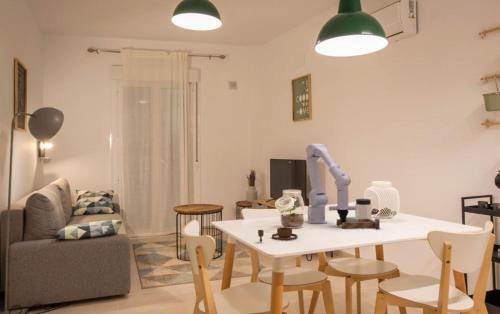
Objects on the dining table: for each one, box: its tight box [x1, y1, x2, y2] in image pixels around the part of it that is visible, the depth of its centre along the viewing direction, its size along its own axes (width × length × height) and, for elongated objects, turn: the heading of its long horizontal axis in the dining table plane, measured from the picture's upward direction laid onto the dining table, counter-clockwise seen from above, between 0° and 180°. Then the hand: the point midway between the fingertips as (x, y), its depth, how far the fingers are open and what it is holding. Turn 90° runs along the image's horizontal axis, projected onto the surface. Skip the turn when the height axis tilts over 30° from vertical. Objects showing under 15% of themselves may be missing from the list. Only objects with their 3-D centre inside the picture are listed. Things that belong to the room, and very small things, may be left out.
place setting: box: [257, 226, 298, 243], centre depth 191 cm, size 18×20×6 cm
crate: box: [345, 216, 358, 222], centre depth 219 cm, size 6×6×4 cm
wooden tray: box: [336, 218, 381, 230], centre depth 218 cm, size 19×14×5 cm
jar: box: [354, 198, 372, 220], centre depth 238 cm, size 9×8×12 cm
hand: (342, 223), depth 219 cm, fingers closed
